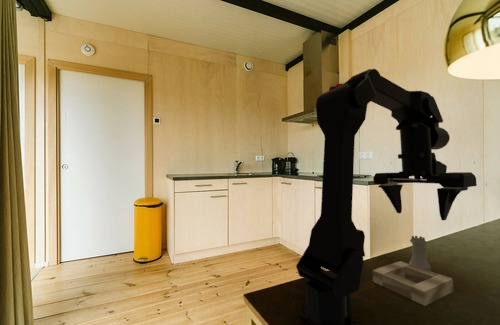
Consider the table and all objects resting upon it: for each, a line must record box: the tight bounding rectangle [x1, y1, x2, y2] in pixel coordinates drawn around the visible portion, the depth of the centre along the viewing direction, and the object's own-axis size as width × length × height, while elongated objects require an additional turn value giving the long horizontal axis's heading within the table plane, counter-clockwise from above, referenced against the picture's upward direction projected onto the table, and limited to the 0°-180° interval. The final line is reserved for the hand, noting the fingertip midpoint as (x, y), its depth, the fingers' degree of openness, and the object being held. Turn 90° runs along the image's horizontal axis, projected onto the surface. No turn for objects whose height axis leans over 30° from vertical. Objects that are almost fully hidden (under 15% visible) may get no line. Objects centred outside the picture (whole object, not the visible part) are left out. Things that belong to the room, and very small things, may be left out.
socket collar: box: [372, 260, 454, 307], centre depth 47 cm, size 10×10×2 cm
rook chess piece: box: [408, 235, 433, 272], centre depth 53 cm, size 4×4×8 cm
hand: (419, 216), depth 52 cm, fingers open, 9 cm apart
